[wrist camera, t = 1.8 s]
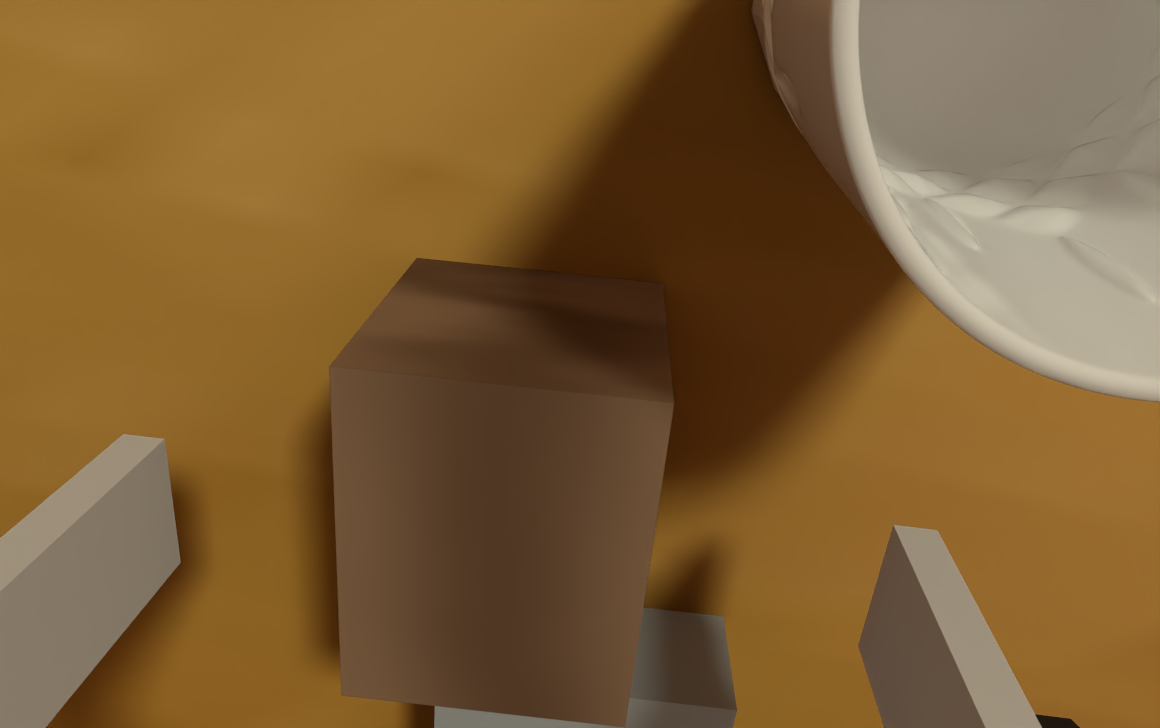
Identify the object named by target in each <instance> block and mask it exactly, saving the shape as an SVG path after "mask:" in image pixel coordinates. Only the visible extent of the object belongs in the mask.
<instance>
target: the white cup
mask: <svg viewBox="0 0 1160 728" xmlns="http://www.w3.org/2000/svg"><path fill="white" fill-rule="evenodd" d="M752 16H753V20H754V23H755V26H756V30H757V33H758V36H759V40H760V43H761V46H762V50H763V53H764V56H765V60H766V63H767V66H768V69H769V73H770V76H771V79H772V83H773V86H774V89H775V91H776V92H777V93H778V94H779V95H780V97H781V99H782V101H783V103H784V105H785V107H786V109H787V111H788V113H789V115H790V117H791V118H792V120H793V122H794V123H795V125H796V126H797V128H798V129H799V131H800V132H801V134H802V135H803V137H804V138H805V140H806V142H807V143H808V145H809V146H810V148H811V149H812V151H813V152H814V154H815V156H816V157H817V159H818V160H819V161H820V163H821V164H822V166H823V167H824V169H825V170H826V171H827V173H828V174H829V175H830V177H831V178H832V179H833V181H834V182H835V183H836V184H837V186H838V187H839V188H840V189H841V191H842V192H843V193H844V194H845V196H846V197H847V198H848V200H849V201H850V202H851V203H852V205H853V206H854V207H855V208H856V210H857V211H858V212H859V214H860V215H861V216H862V217H863V219H864V220H865V221H866V222H867V224H868V225H869V226H870V228H871V229H872V230H873V231H874V233H875V234H876V235H877V237H878V238H879V239H880V241H881V242H882V243H883V245H884V246H885V247H886V249H887V250H888V251H889V253H890V254H891V255H892V257H893V258H894V259H895V260H896V262H897V263H898V265H899V266H900V267H901V269H902V270H903V271H904V272H905V274H906V275H907V276H908V278H909V279H910V280H911V281H912V282H913V283H914V285H915V286H916V287H917V288H918V289H919V290H920V291H921V293H922V294H923V295H924V296H925V297H926V298H927V299H928V300H929V301H930V302H931V303H932V304H933V305H934V306H935V307H936V308H937V309H938V310H939V311H940V312H941V313H943V314H944V315H945V316H946V317H947V318H948V319H949V320H950V321H952V322H953V323H954V324H955V325H956V326H958V327H959V328H960V329H961V330H963V331H964V332H965V333H967V334H968V335H969V336H971V337H972V338H974V339H975V340H976V341H978V342H979V343H981V344H982V345H984V346H985V347H987V348H989V349H990V350H992V351H994V352H995V353H997V354H999V355H1000V356H1002V357H1004V358H1006V359H1008V360H1010V361H1011V362H1013V363H1015V364H1017V365H1019V366H1021V367H1024V368H1026V369H1028V370H1030V371H1032V372H1035V373H1037V374H1040V375H1042V376H1045V377H1047V378H1050V379H1053V380H1055V381H1058V382H1061V383H1064V384H1067V385H1070V386H1074V387H1077V388H1080V389H1084V390H1088V391H1092V392H1096V393H1100V394H1105V395H1110V396H1115V397H1121V398H1127V399H1134V400H1142V401H1151V402H1160V0H753V4H752Z"/></svg>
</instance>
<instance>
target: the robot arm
mask: <svg viewBox="0 0 1160 728" xmlns="http://www.w3.org/2000/svg"><path fill="white" fill-rule="evenodd" d="M180 563H181V560H180V553H179V545H178V537H177V530H176V522H175V515H174V507H173V499H172V492H171V484H170V476H169V469H168V461H167V453H166V446H165V439H160V438H152V437H143V436H135V435H126V434H123V435H122V436H121V437H119V438H118V439H117V440H116V441H115V442H114V443H112V444H111V445H110V446H109V447H108V448H106V449H105V450H104V451H103V452H102V453H101V454H99V455H98V456H97V457H96V458H95V459H93V460H92V461H91V462H90V463H89V464H88V465H86V466H85V467H84V468H83V469H82V470H80V471H79V472H78V473H77V474H76V475H75V476H73V477H72V478H71V479H70V480H69V481H67V482H66V483H65V484H64V485H63V486H61V487H60V488H59V489H58V490H57V491H56V492H54V493H53V494H52V495H51V496H50V497H48V498H47V499H46V500H45V501H44V502H43V503H41V504H40V505H39V506H38V507H37V508H35V509H34V510H33V511H32V512H31V513H30V514H28V515H27V516H26V517H25V518H24V519H22V520H21V521H20V522H19V523H18V524H17V525H15V526H14V527H13V528H12V529H11V530H9V531H8V532H7V533H6V534H5V535H4V536H2V537H1V538H0V728H46V726H47V725H48V724H49V723H50V722H51V720H52V719H53V718H54V717H55V715H56V714H57V713H58V712H59V711H60V709H61V708H62V707H63V706H64V704H65V703H66V702H67V701H68V700H69V698H70V697H71V696H72V695H73V693H74V692H75V691H76V690H77V689H78V687H79V686H80V685H81V684H82V682H83V681H84V680H85V679H86V678H87V676H88V675H89V674H90V673H91V671H92V670H93V669H94V668H95V667H96V665H97V664H98V663H99V662H100V661H101V659H102V658H103V657H104V656H105V654H106V653H107V652H108V651H109V650H110V648H111V647H112V646H113V645H114V643H115V642H116V641H117V640H118V639H119V637H120V636H121V635H122V634H123V632H124V631H125V630H126V629H127V628H128V626H129V625H130V624H131V623H132V621H133V620H134V619H135V618H136V617H137V615H138V614H139V613H140V612H141V610H142V609H143V608H144V607H145V606H146V604H147V603H148V602H149V601H150V599H151V598H152V597H153V596H154V595H155V593H156V592H157V591H158V590H159V588H160V587H161V586H162V585H163V584H164V582H165V581H166V580H167V579H168V577H169V576H170V575H171V574H172V573H173V571H174V570H175V569H176V568H177V566H178V565H179V564H180ZM858 646H859V650H860V653H861V656H862V659H863V662H864V665H865V668H866V672H867V675H868V678H869V681H870V684H871V687H872V691H873V694H874V697H875V700H876V703H877V706H878V710H879V713H880V716H881V719H882V722H883V725H884V728H1080V727H1079V726H1077V725H1076V724H1075V723H1074V722H1073V721H1072V720H1071V719H1067V718H1059V717H1051V716H1043V715H1035V714H1034V712H1033V710H1032V708H1031V706H1030V704H1029V702H1028V700H1027V698H1026V697H1025V695H1024V693H1023V691H1022V689H1021V687H1020V685H1019V683H1018V681H1017V680H1016V678H1015V676H1014V674H1013V672H1012V670H1011V668H1010V666H1009V664H1008V663H1007V661H1006V659H1005V657H1004V655H1003V653H1002V651H1001V649H1000V648H999V646H998V644H997V642H996V640H995V638H994V636H993V634H992V632H991V631H990V629H989V627H988V625H987V623H986V621H985V619H984V617H983V615H982V614H981V612H980V610H979V608H978V606H977V604H976V602H975V600H974V598H973V597H972V595H971V593H970V591H969V589H968V587H967V585H966V583H965V581H964V580H963V578H962V576H961V574H960V572H959V570H958V568H957V566H956V564H955V563H954V561H953V559H952V557H951V555H950V553H949V551H948V549H947V547H946V546H945V544H944V542H943V540H942V538H941V536H940V534H939V532H938V530H931V529H923V528H914V527H906V526H897V525H893V528H892V532H891V535H890V539H889V542H888V546H887V549H886V552H885V556H884V559H883V563H882V566H881V570H880V573H879V576H878V580H877V583H876V587H875V590H874V594H873V597H872V600H871V604H870V607H869V611H868V614H867V618H866V621H865V624H864V628H863V631H862V635H861V638H860V642H859V645H858Z"/></svg>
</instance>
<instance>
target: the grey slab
mask: <svg viewBox="0 0 1160 728" xmlns="http://www.w3.org/2000/svg"><path fill="white" fill-rule="evenodd" d="M736 712H737V708H736V701H735V694H734V687H733V680H732V673H731V666H730V659H729V653H728V646H727V639H726V632H725V625H724V618H723V616H715V615H706V614H697V613H689V612H680V611H671V610H662V609H654V608H645V607H643V613H642V620H641V626H640V633H639V640H638V646H637V653H636V659H635V666H634V673H633V679H632V686H631V692H630V699H629V706H628V712H627V719H626V725H625V728H733V725H734V721H735V716H736ZM434 728H624V727H616V726H607V725H598V724H589V723H580V722H572V721H563V720H554V719H545V718H536V717H527V716H519V715H510V714H501V713H492V712H483V711H475V710H466V709H457V708H448V707H439V706H435V717H434Z"/></svg>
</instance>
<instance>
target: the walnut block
mask: <svg viewBox="0 0 1160 728" xmlns="http://www.w3.org/2000/svg"><path fill="white" fill-rule="evenodd" d="M329 371H330V398H331V426H332V453H333V480H334V507H335V534H336V561H337V588H338V615H339V642H340V669H341V695H342V696H351V697H360V698H369V699H378V700H386V701H395V702H404V703H413V704H422V705H431V706H439V707H448V708H457V709H466V710H475V711H483V712H492V713H501V714H510V715H519V716H527V717H536V718H545V719H554V720H563V721H572V722H580V723H589V724H598V725H607V726H616V727H624V728H625V725H626V719H627V712H628V706H629V699H630V692H631V686H632V679H633V673H634V666H635V659H636V653H637V646H638V640H639V633H640V626H641V620H642V613H643V607H644V600H645V593H646V587H647V580H648V574H649V567H650V560H651V554H652V547H653V541H654V534H655V527H656V521H657V514H658V508H659V501H660V494H661V488H662V481H663V475H664V468H665V461H666V455H667V448H668V442H669V435H670V428H671V422H672V415H673V409H674V395H673V384H672V374H671V363H670V353H669V342H668V332H667V321H666V311H665V300H664V289H663V283H654V282H645V281H635V280H625V279H616V278H606V277H596V276H587V275H577V274H567V273H558V272H548V271H538V270H529V269H519V268H509V267H500V266H490V265H480V264H471V263H461V262H451V261H442V260H432V259H422V258H417V259H416V260H415V261H414V262H413V264H412V265H411V266H410V267H409V268H408V270H407V271H406V272H405V273H404V275H403V276H402V277H401V278H400V280H399V281H398V282H397V283H396V285H395V286H394V287H393V288H392V290H391V291H390V292H389V293H388V295H387V296H386V297H385V298H384V299H383V301H382V302H381V303H380V304H379V306H378V307H377V308H376V309H375V311H374V312H373V313H372V314H371V316H370V317H369V318H368V319H367V321H366V322H365V323H364V324H363V326H362V327H361V328H360V329H359V330H358V332H357V333H356V334H355V335H354V337H353V338H352V339H351V340H350V342H349V343H348V344H347V345H346V347H345V348H344V349H343V350H342V352H341V353H340V354H339V355H338V357H337V358H336V359H335V360H334V361H333V363H332V364H331V365H330V366H329Z"/></svg>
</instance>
